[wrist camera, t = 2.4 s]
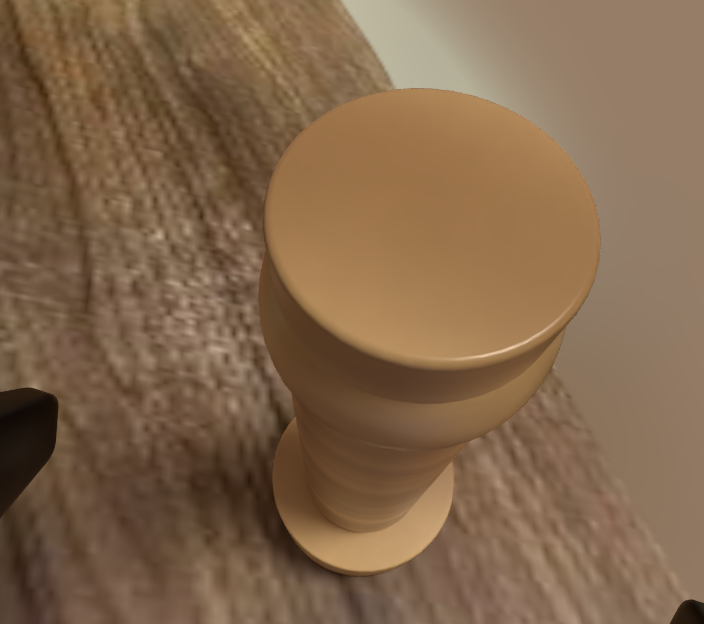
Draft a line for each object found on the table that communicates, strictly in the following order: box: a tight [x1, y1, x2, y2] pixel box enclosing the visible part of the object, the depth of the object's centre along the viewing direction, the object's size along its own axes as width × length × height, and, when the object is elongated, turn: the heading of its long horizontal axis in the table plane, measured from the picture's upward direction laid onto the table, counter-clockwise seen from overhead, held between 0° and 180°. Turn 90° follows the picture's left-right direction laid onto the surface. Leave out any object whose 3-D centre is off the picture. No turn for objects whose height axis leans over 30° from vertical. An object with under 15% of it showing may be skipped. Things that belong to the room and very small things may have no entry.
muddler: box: [258, 88, 601, 576], centre depth 11 cm, size 5×5×14 cm
